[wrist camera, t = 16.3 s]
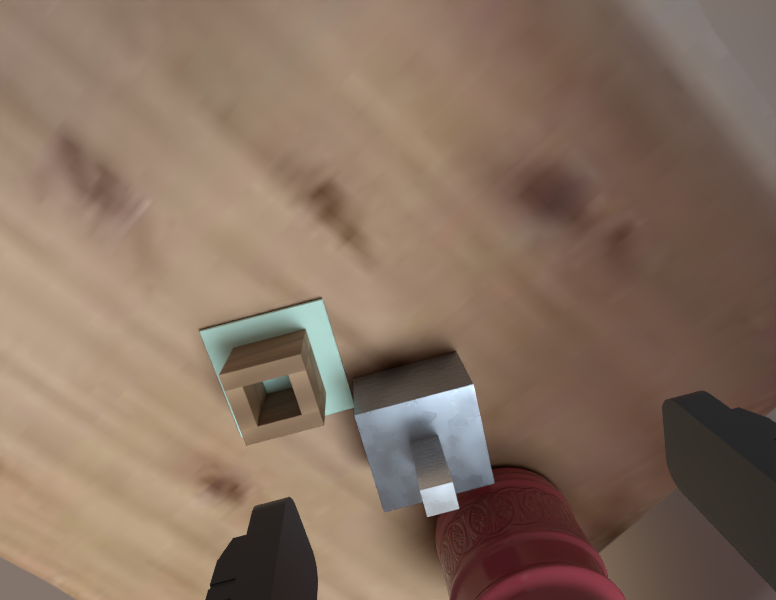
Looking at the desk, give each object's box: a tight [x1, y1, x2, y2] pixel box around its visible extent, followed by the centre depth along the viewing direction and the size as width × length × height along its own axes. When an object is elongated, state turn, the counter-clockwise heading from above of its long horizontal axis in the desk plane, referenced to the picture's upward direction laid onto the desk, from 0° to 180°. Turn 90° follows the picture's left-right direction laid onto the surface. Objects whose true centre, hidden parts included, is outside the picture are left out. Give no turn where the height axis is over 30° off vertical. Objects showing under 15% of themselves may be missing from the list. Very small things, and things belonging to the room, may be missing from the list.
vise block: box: [353, 352, 495, 517], centre depth 39 cm, size 9×9×12 cm
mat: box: [200, 298, 354, 437], centre depth 42 cm, size 10×10×1 cm
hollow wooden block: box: [219, 329, 326, 446], centre depth 39 cm, size 6×6×5 cm
